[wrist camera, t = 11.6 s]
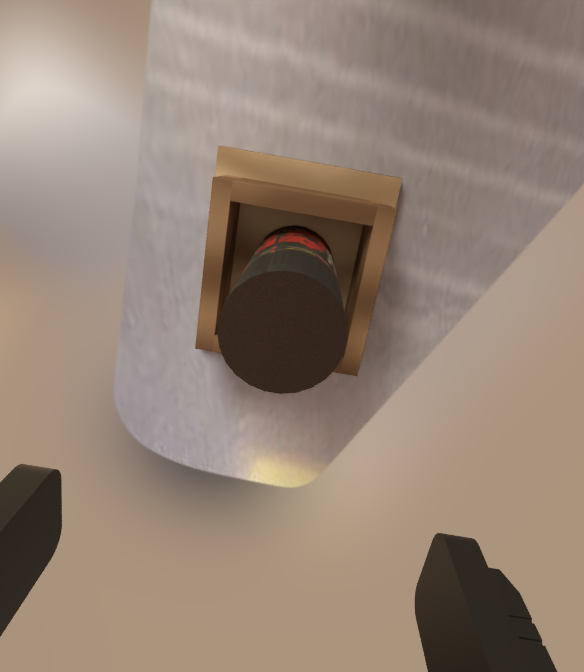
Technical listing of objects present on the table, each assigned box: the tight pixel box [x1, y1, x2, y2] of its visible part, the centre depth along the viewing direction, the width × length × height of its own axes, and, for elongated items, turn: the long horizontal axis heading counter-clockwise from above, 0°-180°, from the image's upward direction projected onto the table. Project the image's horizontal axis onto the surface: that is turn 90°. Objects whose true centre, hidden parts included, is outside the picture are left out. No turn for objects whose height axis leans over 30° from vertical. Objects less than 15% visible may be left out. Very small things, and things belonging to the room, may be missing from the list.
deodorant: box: [217, 225, 348, 394], centre depth 28 cm, size 6×6×15 cm
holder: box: [195, 146, 402, 376], centre depth 34 cm, size 15×13×6 cm
